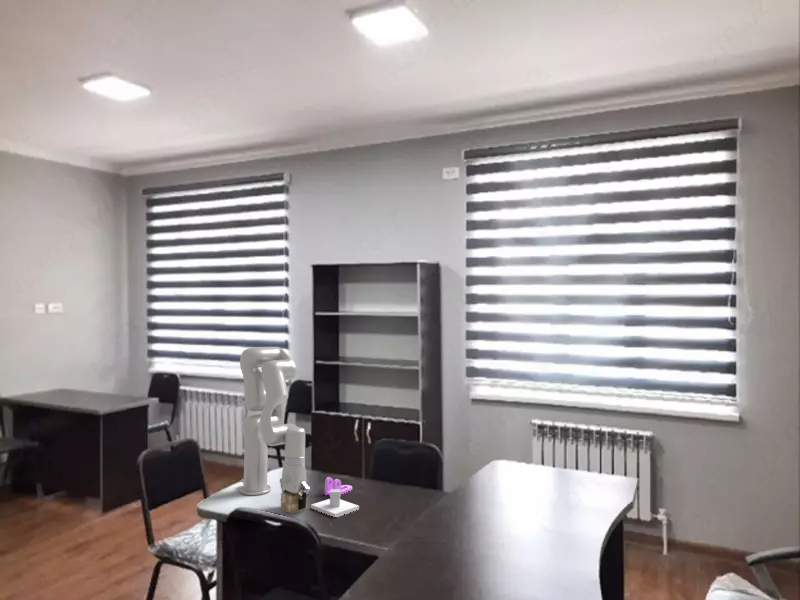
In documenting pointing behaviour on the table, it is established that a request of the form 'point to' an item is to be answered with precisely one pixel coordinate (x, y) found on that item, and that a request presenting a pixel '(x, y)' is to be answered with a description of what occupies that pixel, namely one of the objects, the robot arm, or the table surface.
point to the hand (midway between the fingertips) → (294, 505)
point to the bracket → (335, 486)
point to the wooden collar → (290, 502)
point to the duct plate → (335, 510)
